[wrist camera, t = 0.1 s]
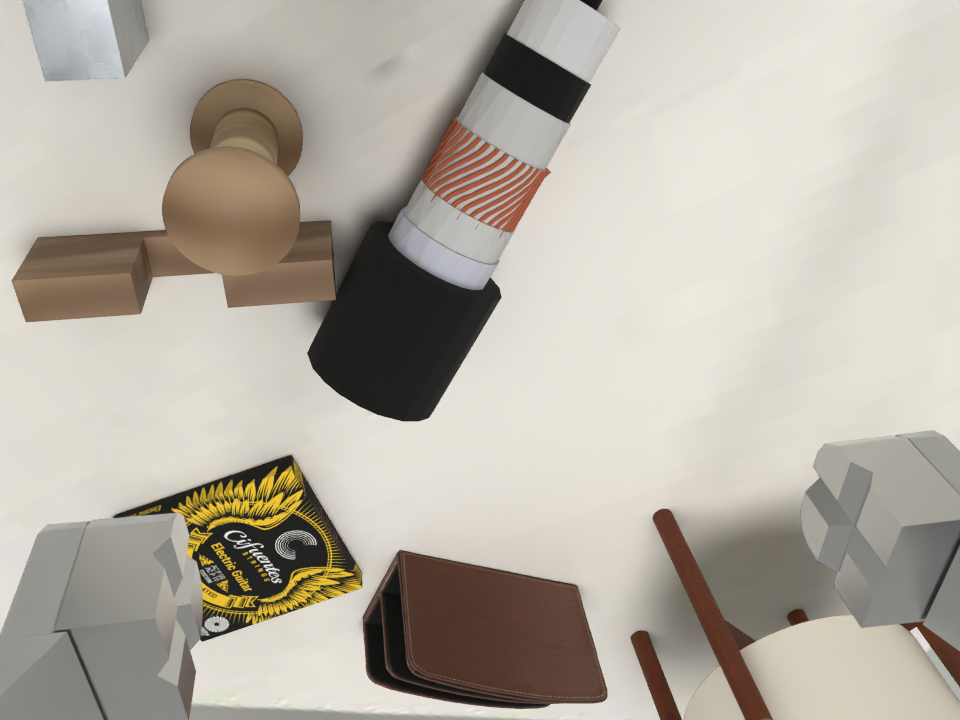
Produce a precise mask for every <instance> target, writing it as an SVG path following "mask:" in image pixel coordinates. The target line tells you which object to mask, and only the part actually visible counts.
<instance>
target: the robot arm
mask: <svg viewBox="0 0 960 720" xmlns="http://www.w3.org/2000/svg"><path fill="white" fill-rule="evenodd" d="M813 468H814V469H815V471H816V472H817V474H818V476H819V477H820V478H819V479H818V480H817V481H816V482H815V483H814V484H813V485H812V486H811V487H810V488H809V489H808V490H807V491H805V494H804V498H803V502H802V506H801V510H800V512H801V522H802V531H803V534H804V536H805V539H806V542H807V544H808V547H809V548H810V550H811V551H812V553H813V555H814V556H815V558H816V559H817V561H819V562H820V563H822V564H824V565H825V566H827V567H828V568H830V569H832V570H833V571H835V572H837V575H836V581H835V589H836V590H837V592H838V593H839V595H840V597H841V598H842V600H843V601H844V603H845V604H846V606H847V607H848V609H849V610H850V612H851V613H852V615H853V616H854V618H855V619H856V621H857V622H858V624H859V625H860V627H861V628H867V627H876V626H885V625H894V624H904V623H913V622H922V621H924V623H923V625H924V626H926V627H927V628H928V629H930V630H931V631H932V632H934V633H935V634H937V635H938V636H939V637H941V638H942V639H943V640H945V641H946V642H948V643H949V644H950V645H952V646H953V647H955V648H956V649H957V650H959V651H960V451H959V450H958V449H957V448H956V447H955V446H954V445H953V444H952V443H951V442H950V441H949V440H948V439H947V438H946V437H945V436H944V435H942V434H940V433H938V432H935V431H933V430H932V431H924V432H916V433H907V434H899V435H896V436H885V437H876V438H868V439H859V440H850V441H842V442H833V443H825V444H824V445H823V446H822V448H821V449H820V450H819V451H818V452H817V455H816V458H815V461H814V465H813ZM188 541H189V532H188V529H187V526H186V523H185V520H184V516H183V515H181V514H180V513H169V514H157V515H146V516H134V517H122V518H110V519H98V520H92V521H87V522H74V523H61V524H48V525H46V526H45V527H44V528H43V529H42V530H41V531H40V533H39V534H38V535H37V537H36V540H35V543H34V545H33V548H32V551H31V553H30V556H29V559H28V561H27V564H26V567H25V569H24V572H23V575H22V577H21V580H20V583H19V585H18V588H17V591H16V594H15V596H14V599H13V602H12V604H11V607H10V610H9V612H8V615H7V618H6V620H5V623H4V626H3V628H2V631H1V634H0V720H189V715H190V709H191V702H192V695H193V688H194V681H195V674H196V670H195V667H194V663H193V660H192V656H191V653H190V650H191V649H192V648H193V647H194V645H195V644H196V643H197V642H198V641H199V640H200V636H201V628H202V619H203V594H202V586H201V579H200V574H199V570H198V566H197V562H196V561H195V560H193V559H192V558H191V557H189V556H188V555H186V554H187V548H188Z"/></svg>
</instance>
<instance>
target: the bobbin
mask: <svg viewBox="0 0 960 720" xmlns="http://www.w3.org/2000/svg"><path fill="white" fill-rule="evenodd" d="M190 139H191V144H192V148H193V151H194V153H195V154H194V155H192V156H190V157H189V158H187V159H186V160H185V161H183V162H182V163H181V164H180V165H179V166H178V167H177V169H176V170H175V171H174V173H173V174H172V176H171V178H170V180H169V182H168V185H167V188H166V191H165V194H164V197H163V203H162V215H163V221H164V225H165V228H166V231H167V233H168V235H169V237H170V239H171V240H172V242H173V244H174V245H175V246H176V247H177V249H178V250H179V251H180V252H181V253H182V254H183V255H184V256H185V257H186V258H188V259H189V260H190V261H192V262H193V263H195V264H197V265H198V266H200V267H202V268H204V269H206V270H209V271H212V272H215V273H219V274H224V275H232V276H242V275H250V274H255V273H259V272H261V271H264V270H266V269H268V268H270V267H272V266H274V265H275V264H277V263H278V262H280V261H281V260H282V259H283V258H284V257H285V256H286V255H287V254H288V252H289V251H290V250H291V248H292V246H293V245H294V243H295V241H296V238H297V235H298V231H299V225H300V204H299V199H298V196H297V193H296V190H295V188H294V186H293V184H292V182H291V181H290V179H289V178H288V175H289V174H291V172H292V171H293V170H294V168H295V167H296V165H297V163H298V161H299V158H300V155H301V151H302V141H303V136H302V127H301V123H300V120H299V117H298V115H297V113H296V111H295V109H294V108H293V106H292V105H291V103H290V102H289V101H288V100H287V99H286V98H285V97H284V96H283V95H282V94H281V93H279V92H278V91H277V90H275V89H274V88H272V87H270V86H268V85H266V84H263V83H260V82H257V81H252V80H231V81H227V82H224V83H221V84H219V85H217V86H215V87H214V88H212V89H211V90H209V91H208V92H207V93H206V94H205V95H204V96H203V97H202V98H201V100H200V101H199V103H198V105H197V107H196V109H195V111H194V114H193V117H192V120H191V125H190Z"/></svg>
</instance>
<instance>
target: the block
mask: <svg viewBox="0 0 960 720" xmlns="http://www.w3.org/2000/svg"><path fill="white" fill-rule="evenodd" d="M22 1H23V4H24V8H25V11H26V15H27V18H28V22H29V26H30V29H31V33H32V36H33V40H34V44H35V47H36V51H37V54H38V58H39V61H40V65H41V69H42V72H43V76H44V79H45V81H61V80H90V79H118V78H126V76H127V74H128V73H129V71H130V70H131V68H132V67H133V65H134V63H135V62H136V60H137V59H138V57H139V56H140V54H141V52H142V51H143V49H144V48H145V46H146V45H147V43H148V41H149V38H148V33H147V28H146V23H145V18H144V13H143V8H142V3H141V0H22Z"/></svg>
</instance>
